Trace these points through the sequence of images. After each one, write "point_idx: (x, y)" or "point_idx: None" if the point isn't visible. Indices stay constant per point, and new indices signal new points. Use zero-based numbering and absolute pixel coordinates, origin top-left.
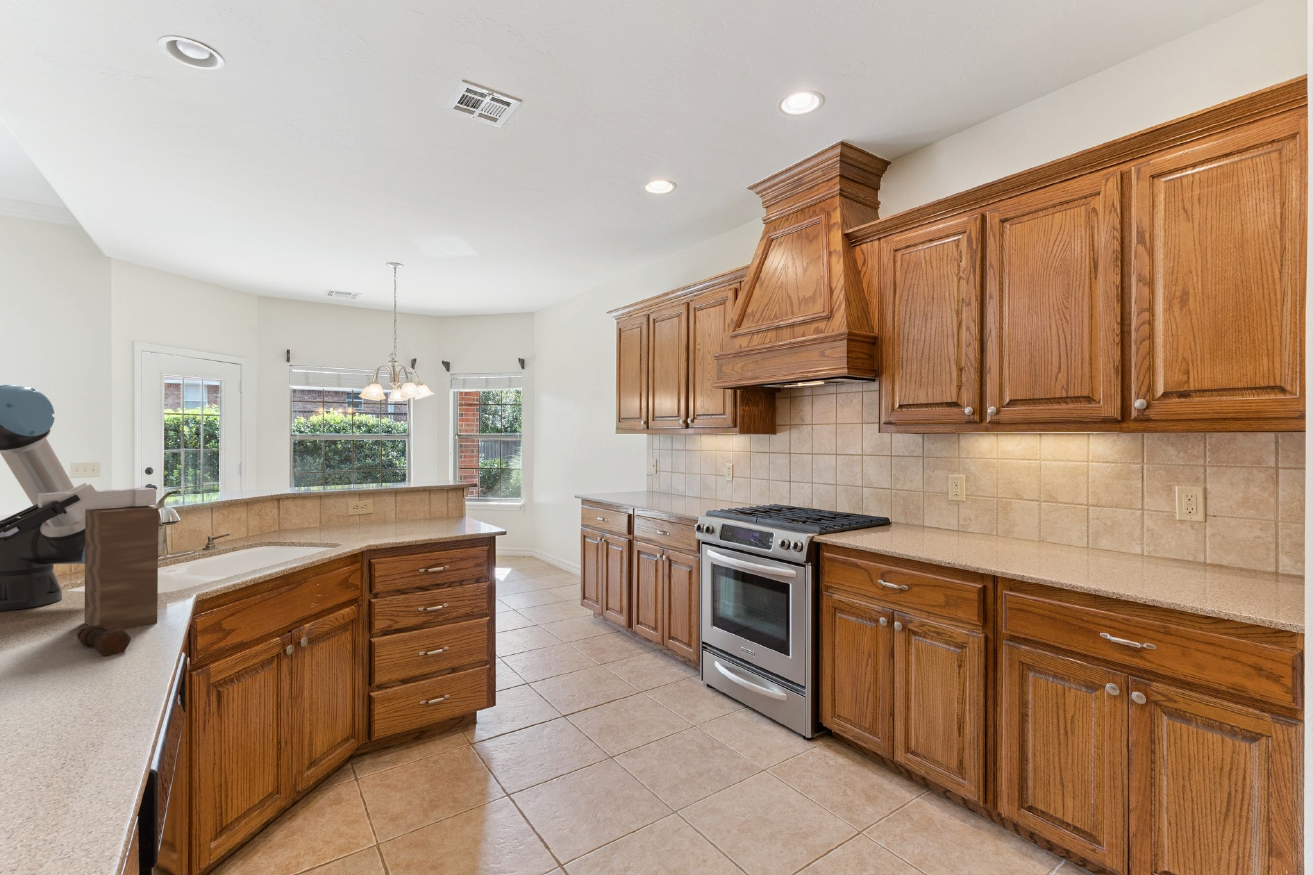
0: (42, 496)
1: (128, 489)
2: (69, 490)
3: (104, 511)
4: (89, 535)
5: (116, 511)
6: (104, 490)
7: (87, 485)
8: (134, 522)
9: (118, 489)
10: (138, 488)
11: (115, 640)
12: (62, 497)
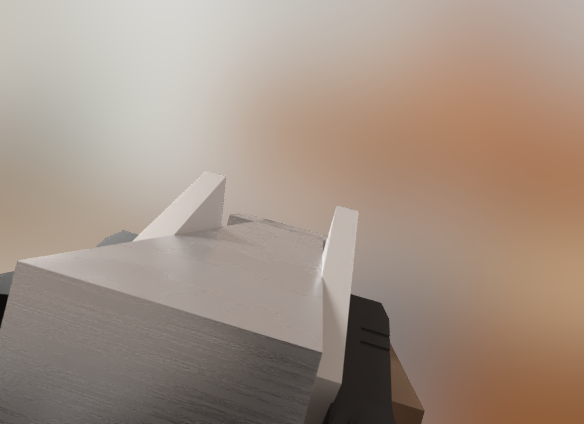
0: (307, 383)
1: (291, 232)
2: (180, 222)
3: (392, 391)
4: None
5: (408, 379)
6: (267, 234)
7: (352, 219)
8: None
9: (259, 225)
10: (270, 223)
11: None
12: (342, 340)
